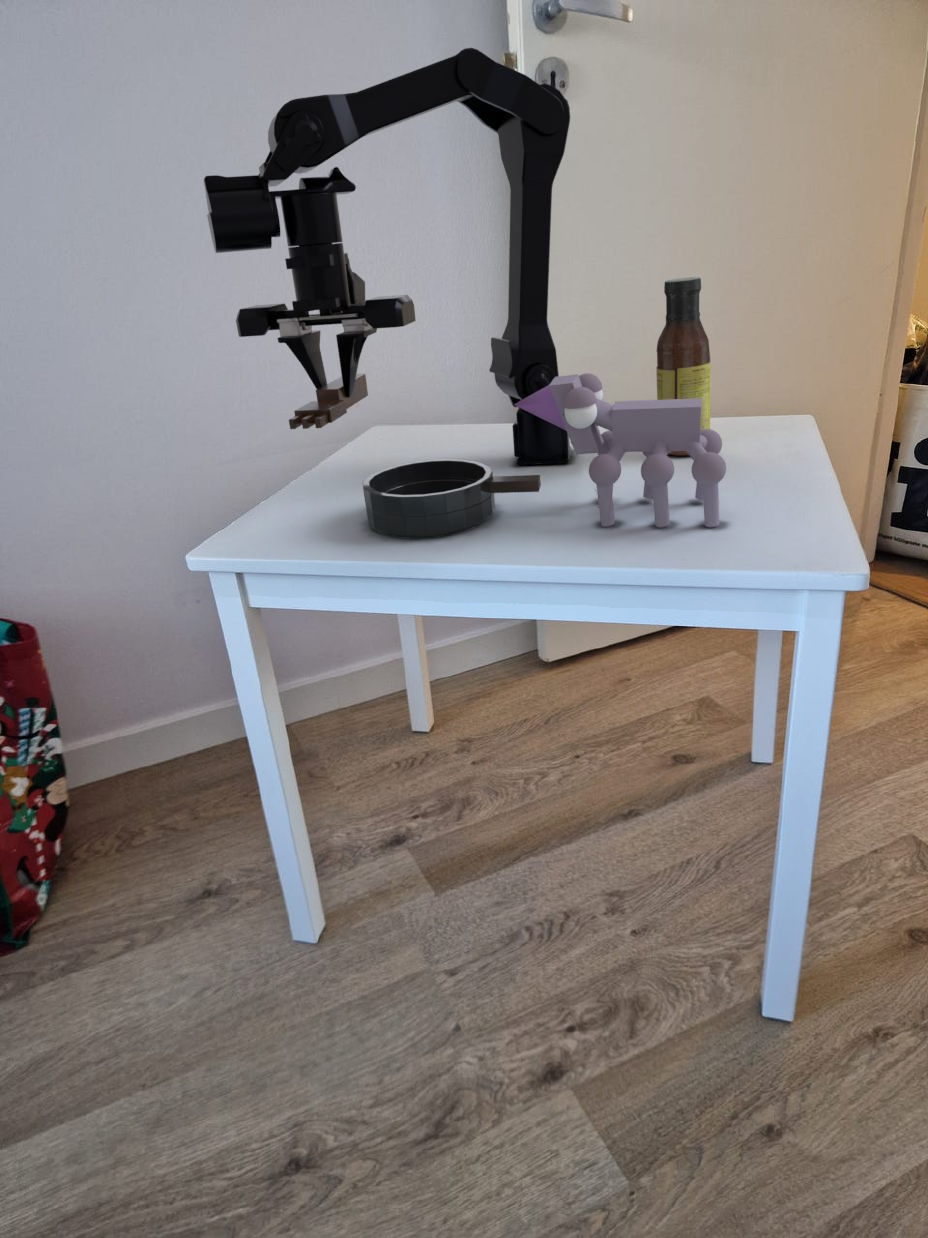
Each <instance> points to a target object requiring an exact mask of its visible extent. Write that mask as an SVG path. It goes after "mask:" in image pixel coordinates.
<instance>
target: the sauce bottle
mask: <svg viewBox="0 0 928 1238" xmlns="http://www.w3.org/2000/svg"><path fill="white" fill-rule="evenodd" d="M701 279H702V278H701V277H700V276H692V277H691V276H690V277H680V278H673V279H667V280H665V281H664V289H663V290H664V291H663V292H664V295H665V304H666V305H665V310H666V313H665V314H666V315H665V325H664V327H663V329H662V331H661V333H660V335H659V337H658V340H657V343H656V368H655V369H656V371H655V372H656V400H667V399H696V398H702V402H701V426H700V430H703V429H711V351H710V340H709V337H708V335H707V333H706V331H705V329H704V326H703V324H702V320H701V318H700V317H701V312H700V294H701V293H700V292H701V290H702V280H701ZM667 455H671V456H676V457H677V456H690V455H689V454H688V452H687V451H670V452H669V453H668V454H667Z"/></svg>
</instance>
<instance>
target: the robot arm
mask: <svg viewBox="0 0 928 1238" xmlns="http://www.w3.org/2000/svg"><path fill="white" fill-rule="evenodd" d="M456 102H457V103H459V104H460V105H462V106H464V107H465V108H466V109H467V110H468V111H469V113H471V114H472V115H473V116H474V117H475V118H476V120H478V121H479V122H480V123H481V124H482V125H484V126H485V127H487V128H488V129H489V130H491V131H492V132H494V133H495V134H497V135H498V144H499V151H500V159H501V162H502V165H503V168H504V172H505V174H506V177H507V180H508V183H509V190H510V194H509V195H510V196H509V197H510V198H509V199H510V201H509V251H508V252H509V254H508V255H509V256H508V302H507V303H508V309H507V310H508V311H507V323H506V325H505V328H504V331H503V333H502V336H501V337H494V336H492V337H491V339H490V348H491V349H490V350H491V356H492V359H491V364H490V366H489V370H488V371H489V372H490V373H493V374H494V380H495V381H494V382H495V384H496V386H497V387H498V388H499V389H500V391H501V392H502V393H503V394H505V395H507V396H508V398H509V401H510V403H511V405H512V407H513V408H518V409H517V410H516V413H515V414H516V420H515V421H514V422H513V424H512V441H513V456H514V457H515V458H517V459H516V465H518V466H521V465H522V466H523V465H548V464H549V465H550V464H551V465H553V464H569V462H570V460H571V459H570V458H571V455H572V446H570V445H571V444H570V443H571V441H570V438H569V435H568V433H567V431H566V430H564V429H562V428H560V427H558V426H556V425H554V424H552V423H550V422H548V421H546V420H544V419H542V418H540V417H538V416H536V415H534V414H532V413H530V412H528V411H525V410H523V409H521V408H519V407H517V406H515V405H514V404H516V403H518V402H519V401H521V400H523V399H525V398H526V397H528V396H530V395H532V394H534V393H535V392H537V391H539V390H541V389H543V388H544V387H546V386H548V385H550V383H551V382H552V381H553V379H554V378H555V377H558V376H559V375H560V373H559V366H558V359H557V358H558V357H557V349H556V345H555V343H554V339H553V336H552V334H551V330H550V327H549V323H548V308H549V307H548V305H549V284H550V283H549V282H550V255H551V254H550V252H551V230H552V229H551V228H552V227H551V225H552V203H553V202H552V201H553V199H552V198H553V186H554V181H555V179H556V176H557V173H558V171H559V168H560V165H561V163H562V160H563V158H564V155H565V152H566V151H565V150H566V145H567V140H568V135H569V129H570V123H571V109H570V104H569V101H568V99H566V98H565V96H564V95H563V93H562V91H560V90H559V89H558V88H557V87H555V86H554V85H551V84H547V83H541V84H539V83H538V82H537V81H535V80H534V79H532V78H530V77H529V76H528V75H526V74H524V73H522V72H520V71H517V70H515V69H514V68H510V67H508V66H506V65H503V64H501V63H500V62H497V61H495V60H493V59H492V58H490V56H488V55H486V54H485V53H483V52H482V51H480V50H479V49H477V48H475V47H466V48H463V49H462V50H460V51H458V52H457V53H455V54H454V55H452V56H450V57H447V58H444V59H442V60H439V61H436V62H434V63H431V64H429V65H426V66H422V67H421V68H418V69H415V70H413V71H410V72H407V73H404V74H401V75H399V76H396V77H394V78H391V79H388V80H385V81H382V82H380V83H378V84H375V85H372V86H369V87H367V88H364V89H361V90H359V91H356V92H355V91H354V92H348V93H335V94H334V93H333V94H320V95H314V96H307V97H306V96H305V97H300V98H294V99H291V100H289V101H287V102H286V103H284V104H283V105H282V106H281V108H280V109H279V110H278V111H277V112H276V114H275V116H273V118H272V120H271V121H270V124H269V127H268V131H267V144H268V146H269V152H268V154H267V156H266V158H265V160H264V162H262V164H261V165H260V166H259V167H258V170H259V171H258V174H257V175H255V174H254V175H240V176H223V175H217V174H216V175H213V174H212V175H205V176H204V178H203V185H204V190H205V199H206V204H207V205H206V206H207V211H208V213H207V215H206V217H207V222H208V227H209V231H210V236H211V241H212V246H213V249H214V252H215V254H221V253H233V252H234V253H235V252H247V251H258V250H268V249H269V250H270V249H272V245H273V244H272V243H273V240H272V238H280V237H281V223H280V215H279V210H278V205H277V200H276V199H280V206H281V212H282V219H283V224H284V225H283V226H284V229H285V230H284V231H285V237H286V242H287V243H286V244H287V247H288V248H287V250H288V256H289V257H288V258H285V259H284V261H285V264H286V265H285V267H286V270H291V275H292V283H293V289H294V294H295V300H293V301H291V302H292V303H291V304H292V309H289V308H288V307H287V305H286V303H284V302H283V303H272V304H258V305H257V304H256V305H252V306H248V307H242V308H239V310H238V312H237V314H236V320H235V323H236V329H237V332H238V333H237V334H238V337H239V338H244V337H245V338H246V337H260V336H262V337H263V336H266V335H267V334H268V332H269V331H279V337H277V338H276V339H277V342H278V343H279V344H285V345H286V346H287V347H288V349H289V350H290V351H291V352H292V354H293V355H294V357H295V358H296V359H297V361H298V362H299V364H300V365H301V366H302V368H303V369H304V371H305V372H306V374H307V376H308V378H309V379H310V381H311V382H312V384H313V386H314V387H315V390H317V389H319V388H321V387H323V386H325V385H327V384H328V380H327V375H326V371H325V366H324V361H323V357H322V352H321V330H320V329H319V330H313V327H315V326H329V325H342V328H343V332H340V333H337V334H336V335H335V338H336V345H337V351H338V359H339V366H340V373H341V377H342V381H343V386H344V389H345V393H346V397H351V396H352V394H353V389H354V384H355V379H356V374H358V368H359V362H360V359H361V355H362V353H363V352H362V351H363V349H364V345H365V343H366V341H367V339H368V337H369V336H371V335H374V334H376V333H377V332H378V331H377V330H378V329H389V328H392V329H393V328H401V327H405V326H408V325H410V324H412V323H414V322H416V311H415V309H416V308H415V304H414V301H413V299H412V298H411V297H410V296H409V295H408V294H399V295H397V294H396V295H385V296H383V295H382V296H376V297H372V298H369V299H366V281H365V280H363V278H362V277H361V276H359V275H358V274H357V273H356V272H354V271H353V270H352V268H351V264H350V263H351V262H350V258H349V254H348V252H345V250H344V249H345V247H344V243H343V242H344V241H343V233H342V226H341V219H340V210H339V203H338V196H337V195H348V194H350V193H353V192H355V191H356V189H357V186H356V184H355V183H354V182H352V181H351V180H350V179H349V178H348V177H346V176H345V175H344V173H342V171H341V169H340V167H338V166H335V167H333V168H331V169H330V171H329V173H328V175H327V176H311V177H300V178H299V181H298V189H287V190H270V187H277V186H279V185H280V184H282V183H283V182H285V181H286V180H288V179H289V178H290V177H291V176H292V175H293V174H306V173H308V172H311V171H312V170H314V169H315V168H317V167H318V166H320V165H321V164H324V163H325V162H326V161H328V160H330V159H331V158H332V157H334V156H335V155H337V154H339V153H340V152H342V151H343V150H346V149H347V148H348V147H350V146H351V145H353V144H355V143H356V142H357V141H359V140H361V139H362V138H364V137H367V136H369V135H372V134H374V133H377V132H380V131H382V130H384V129H388V128H390V127H392V126H395V125H398V124H401V123H403V122H406V121H408V120H411V119H414V118H417V117H419V116H422V115H425V114H427V113H430V112H432V111H435V110H438V109H440V108H443V107H445V106H448V105H450V104H452V103H456ZM313 311H318V312H319V313H310V312H313Z"/></svg>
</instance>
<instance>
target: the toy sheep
mask: <svg viewBox="0 0 928 1238" xmlns="http://www.w3.org/2000/svg"><path fill="white" fill-rule="evenodd" d="M603 395H604V393H603V384H602V381H601V380H600V378H599V377H598V376H597V375H595V374H593V373H589V372H588V373H587V372H586V373H582V374H580V375H579V374H578V373H576V374H569V375H567V374H566V375H560V376H558V377H555V378H554V379H553V381H552V382H551V383H550V385H548V386H546V387H544V388H543V389H541V390H539V391H537V392H535V393H534V394H532V395H530V396H528V397H526V398H525V399H523V400H521V401H519V402H518V403H516V404H514V405H515V406H517V407H516V408H518V407H519V408H521V409H523V410H525V411H528V412H530V413H532V414H534V415H536V416H538V417H540V418H542V419H544V420H546V421H548V422H550V423H552V424H554V425H556V426H558V427H560V428H562V429H564V430H566V431H567V433H568V435H569V440H570V443H571V445H572V446H571V447H572V448H573V450H574V453H575V455H576V456H578V455H589V454H590V455H591V454H597V456H595V457H594V458H593V459H592V460H591V461H590V464H589V466H588V475H589V478H590V480H591V481H592V482H593V483H594V485H595V486H596V489H595V488H594V487H593V489H594V491H595V492H596V495H597V502H598V505H596V507H597V508H598V510H599V521H600V525H601V527H604V528H607V527H611V526H613V525H614V524H615V523H616V520H615V509H614V501H613V497H614V495H613V494H614V484H616V482H618V480H619V479H620V477H621V474H622V466H621V460H622V459H623V457H624V455H625V454H626V453H642V454H643V456H645V459H644V460H643V462H642V464H641V466H640V475H641V478H642V480H643V493H642V494H643V495H642V497H643V498H645V499H648V500H653V501H652V502H653V512H654V525H655V527H656V528H666V527H668V526H670V523H671V519H670V505H669V488H668V483H669V482H670V481H671V480H672V479H673V477H674V474H675V465H674V462H673V461H672V459H671V458H670V456H668V455H669V454H668V453H669V452H670V451H687V452H688V454H689V455H688V456H690V458H691V459H692V461H693V462H692V465H691V470H690V471H691V475H692V478H693V479H694V481H695V482H696V485H695V495H694V498H695V499H697V500H702V501H703V519H704V520H703V521H704V526H705V527H706V528H715V527H717V526H720V498H719V497H720V496H719V495H720V494H719V493H720V492H719V483H720V482H721V481H722V480H723V479H724V477H725V476H726V472H727V465H726V462H725V461H726V460H725V459H724V458H723V457H722V456H721V455H720V452H721V450H722V449H723V439H722V437H721V435H720V433H718V432H717V431H716V430H714V429H711V428H710V429H703V430H700V426H701V402H702V398H696V399H667V400H657V399H643V400H642V399H639V400H616V401H614V403H613V404H612V403H610V402H607V401H605V400H603V398H604V397H603ZM519 408H518V409H519ZM599 427H600V428H602V429H605V430H606V431H604V432H602V433H601V431H600V428H599Z"/></svg>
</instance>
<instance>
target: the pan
mask: <svg viewBox="0 0 928 1238" xmlns="http://www.w3.org/2000/svg"><path fill="white" fill-rule="evenodd" d="M492 477H494V473H493V470H492V468H491V467H490V466H489V465H487V464H485V463H482V462H479V461H474V460H470V459H469V460H468V459H459V458H458V459H457V458H455V459H454V458H444V459H443V458H442V459H441V458H440V459H427V460H426V459H425V460H418V461H411V462H406V463H401V464H397V465H393V466H389V467H387V468H386V467H385V468H384V469H380V470H378V471H376V472H374V473H372V474H370V475H368V476H367V477H366V478H365V479H364V480H363V481H362V491H363V497H364V503H365V511H366V517H367V524H368V526H369V527H371V529H373V530H375V531H377V532H380V533H381V534H383V535H386V536H390V537H393V538H400V539H401V538H402V539H430V538H431V539H433V538H440V537H445V536H452V535H456V534H459V533H463V532H466V531H469V530H472V529H474V528H476V527H478V526H479V525H482V524H484V522H486V520H487V519H489V518H490V517H491V516H493V515H494V512H495V511H496V499H495V493H491V490H490V481H491V479H492Z"/></svg>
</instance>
